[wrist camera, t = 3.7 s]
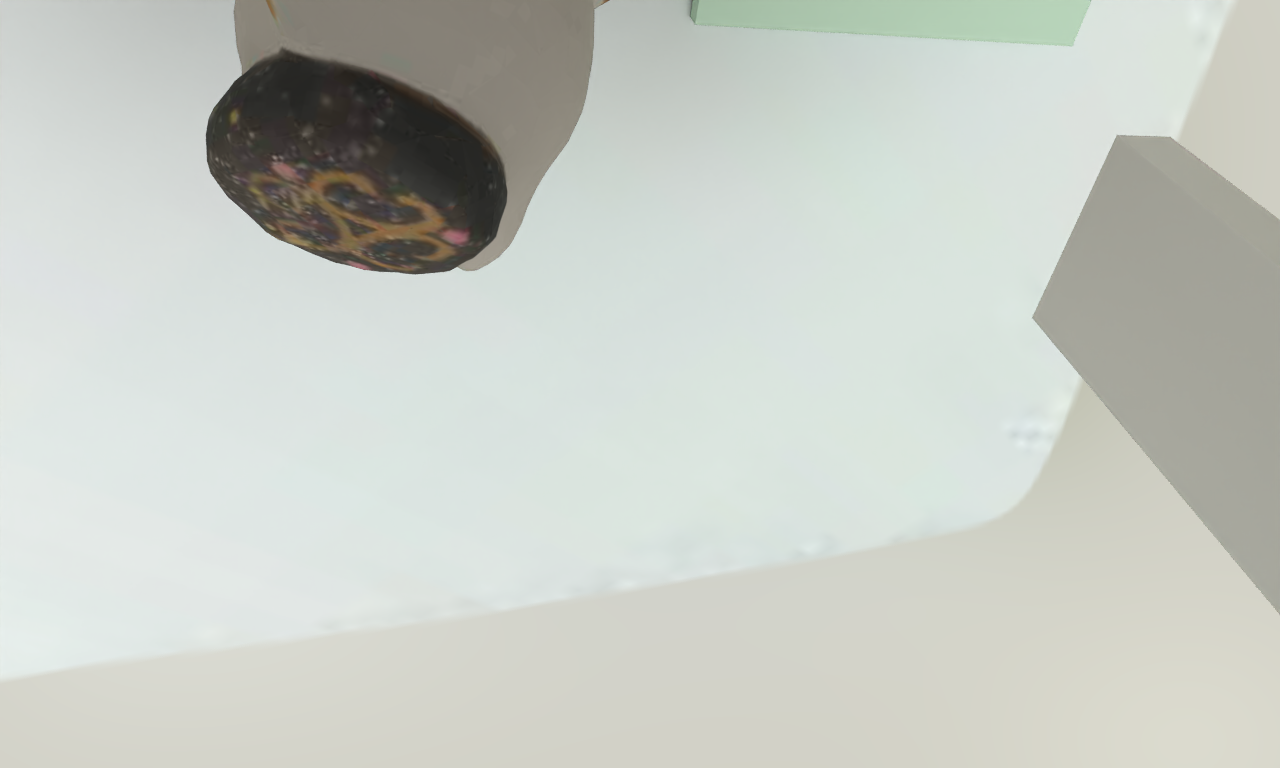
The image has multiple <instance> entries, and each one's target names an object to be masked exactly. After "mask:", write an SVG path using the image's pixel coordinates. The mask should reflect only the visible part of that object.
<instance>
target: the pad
mask: <svg viewBox="0 0 1280 768" xmlns="http://www.w3.org/2000/svg"><path fill="white" fill-rule="evenodd" d="M1090 2H1091V0H693V2H692V9H691V15H690V17H691V19H692V20H693V22H694V24H695V25H708V26H725V27H743V28H760V29H778V30H795V31H813V32H830V33H848V34H865V35H883V36H900V37H918V38H935V39H953V40H970V41H988V42H1005V43H1023V44H1040V45H1058V46H1073V43H1074V41H1075V38H1076V36H1077V34H1078V31H1079V29H1080V26H1081V24H1082V22H1083V19H1084V17H1085V14H1086V12H1087V10H1088V7H1089V5H1090Z"/></svg>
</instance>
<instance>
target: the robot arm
mask: <svg viewBox="0 0 1280 768" xmlns="http://www.w3.org/2000/svg"><path fill="white" fill-rule="evenodd" d="M1032 318H1033V319H1034V321H1035V322H1036V323H1037V324H1038V325H1039V327H1040V328H1041V329H1042V330H1043V331H1044V333H1045V334H1046V335H1047V336H1048V337H1049V339H1050V340H1051V341H1052V342H1053V343H1054V345H1055V346H1056V347H1057V348H1058V349H1059V351H1060V352H1061V353H1062V354H1063V355H1064V357H1065V358H1066V359H1067V360H1068V361H1069V363H1070V364H1071V365H1072V366H1073V367H1074V369H1075V370H1076V371H1077V372H1078V373H1079V375H1080V376H1081V377H1082V378H1083V379H1084V380H1085V382H1086V383H1087V384H1088V385H1089V386H1090V388H1091V389H1092V390H1093V391H1094V392H1095V393H1096V395H1097V396H1098V397H1099V398H1100V400H1101V401H1102V402H1103V403H1104V404H1105V406H1106V407H1107V408H1108V409H1109V410H1110V412H1111V413H1112V414H1113V415H1114V416H1115V418H1116V419H1117V420H1118V421H1119V422H1120V424H1121V425H1122V426H1123V427H1124V428H1125V430H1126V431H1127V432H1128V433H1129V434H1130V436H1131V437H1132V438H1133V439H1134V440H1135V442H1136V443H1137V444H1138V445H1139V446H1140V447H1141V448H1142V450H1143V451H1144V452H1145V454H1146V455H1147V456H1148V457H1149V458H1150V460H1151V461H1152V462H1153V463H1154V464H1155V466H1156V467H1157V468H1158V469H1159V470H1160V472H1161V473H1162V474H1163V475H1164V476H1165V477H1166V479H1167V480H1168V481H1169V482H1170V484H1171V485H1172V486H1173V487H1174V488H1175V489H1176V491H1177V492H1178V493H1179V494H1180V496H1181V497H1182V498H1183V499H1184V500H1185V501H1186V503H1187V504H1188V505H1189V506H1190V507H1191V509H1192V510H1193V511H1194V512H1195V513H1196V515H1197V516H1198V517H1199V518H1200V519H1201V521H1202V522H1203V523H1204V524H1205V525H1206V527H1207V528H1208V529H1209V530H1210V531H1211V533H1212V534H1213V535H1214V536H1215V537H1216V538H1217V540H1218V541H1219V542H1220V543H1221V545H1222V546H1223V547H1224V548H1225V549H1226V551H1227V552H1228V553H1229V554H1230V555H1231V557H1232V558H1233V559H1234V560H1235V561H1236V562H1237V564H1238V565H1239V566H1240V567H1241V569H1242V570H1243V571H1244V572H1245V573H1246V574H1247V576H1248V577H1249V578H1250V579H1251V580H1252V582H1253V583H1254V584H1255V585H1256V587H1257V588H1258V589H1259V590H1260V591H1261V592H1262V594H1263V595H1264V596H1265V597H1266V599H1267V600H1268V601H1269V602H1270V603H1271V605H1272V606H1273V607H1274V608H1275V609H1276V611H1277V612H1278V613H1279V614H1280V220H1279V219H1278V218H1277V217H1275V216H1274V215H1273V214H1271V213H1270V212H1269V211H1267V210H1266V209H1265V208H1263V207H1262V206H1261V205H1259V204H1258V203H1257V202H1255V201H1254V200H1253V199H1251V198H1250V197H1249V196H1248V195H1246V194H1245V193H1244V192H1242V191H1241V190H1240V189H1238V188H1237V187H1236V186H1234V185H1233V184H1232V183H1230V182H1229V181H1228V180H1226V179H1225V178H1224V177H1222V176H1221V175H1220V174H1218V173H1217V172H1216V171H1215V170H1213V169H1212V168H1210V167H1209V166H1208V165H1207V164H1205V163H1204V162H1202V161H1201V160H1200V159H1198V158H1197V157H1196V156H1195V155H1193V154H1192V153H1190V152H1189V151H1188V150H1187V149H1185V148H1184V147H1183V146H1181V145H1180V144H1179V143H1178V142H1176V141H1175V140H1174V139H1172V138H1171V137H1157V136H1126V135H1117V136H1116V138H1115V141H1114V143H1113V145H1112V147H1111V149H1110V151H1109V153H1108V156H1107V158H1106V160H1105V162H1104V164H1103V166H1102V169H1101V171H1100V173H1099V175H1098V177H1097V179H1096V181H1095V184H1094V186H1093V188H1092V190H1091V192H1090V194H1089V197H1088V199H1087V201H1086V203H1085V205H1084V207H1083V209H1082V212H1081V214H1080V216H1079V218H1078V220H1077V222H1076V225H1075V227H1074V229H1073V231H1072V233H1071V235H1070V237H1069V240H1068V242H1067V244H1066V246H1065V248H1064V250H1063V252H1062V255H1061V257H1060V259H1059V261H1058V263H1057V265H1056V268H1055V270H1054V272H1053V274H1052V276H1051V278H1050V280H1049V283H1048V285H1047V287H1046V289H1045V291H1044V293H1043V296H1042V298H1041V300H1040V302H1039V304H1038V306H1037V308H1036V311H1035V313H1034V315H1033V317H1032Z"/></svg>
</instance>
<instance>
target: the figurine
mask: <svg viewBox="0 0 1280 768" xmlns="http://www.w3.org/2000/svg"><path fill="white" fill-rule="evenodd" d="M607 1H609V0H235V7H234V20H235V32H236V43H237V49H238V53H239V57H240V61H241V65H242V76H240V77H239V78H238V79H237V80H236V81H235V82H234V83H233V84H232V86H231V87H230V89H229V90H228V91H227V92H226V94H225V95H224V96H223V97H222V99H221V100H220V101H219V102H218V104H217V105H216V106H215V107H214V109H213V111H212V113H211V115H210V117H209V120H208V126H207V132H206V146H207V162H208V165H209V169H210V172H211V174H212V176H213V177H214V179H215V180H216V181H217V183H218V184H219V185H220V187H221V188H222V189H223V191H224V192H225V194H226V195H227V196H228V197H229V198H230V199H231V200H232V201H233V202H234V203H235V204H237V205H238V206H239V207H240V208H241V209H242V210H243V211H244V212H246V213H247V214H248V215H249V216H250V217H251V218H252V219H253V220H254V221H255V222H256V223H257V224H259V225H260V226H261V227H262V228H263V229H264V230H265V231H266V232H267V233H269V234H270V235H272V236H274V237H275V238H277V239H279V240H281V241H284V242H287V243H289V244H292V245H294V246H297V247H299V248H301V249H303V250H306V251H308V252H310V253H312V254H315V255H317V256H320V257H322V258H325V259H328V260H330V261H333V262H335V263H340V264H345V265H349V266H353V267H356V268H360V269H363V270H371V271H379V272H399V273H405V274H425V273H436V272H445V271H450V270H452V269H454V268H456V267H459V268H460V269H462V270H465V271H474V270H478V269H480V268H482V267H484V266H486V265H488V264H489V263H491V262H492V261H494V260H495V259H496V258H498V257H499V256H500V255H501V254H502V253H503V252H504V251H505V250H506V249H507V248H508V247H509V245H510V244H511V242H512V241H513V239H514V237H515V235H516V233H517V231H518V229H519V227H520V225H521V223H522V221H523V218H524V215H525V212H526V210H527V207H528V205H529V203H530V200H531V198H532V196H533V194H534V192H535V190H536V188H537V186H538V185H539V183H540V181H541V180H542V178H543V176H544V175H545V173H546V171H547V170H548V169H549V167H550V166H551V164H552V163H553V162H554V160H555V159H556V158H557V156H558V155H559V154H560V152H561V151H562V149H563V148H564V147H565V145H566V144H567V142H568V141H569V139H570V137H571V134H572V132H573V130H574V128H575V126H576V124H577V122H578V119H579V117H580V115H581V113H582V110H583V106H584V103H585V99H586V94H587V88H588V82H589V76H590V71H591V65H592V58H593V46H594V9H595V8H597V7H598V6H600V5H602V4H604V3H606V2H607Z"/></svg>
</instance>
